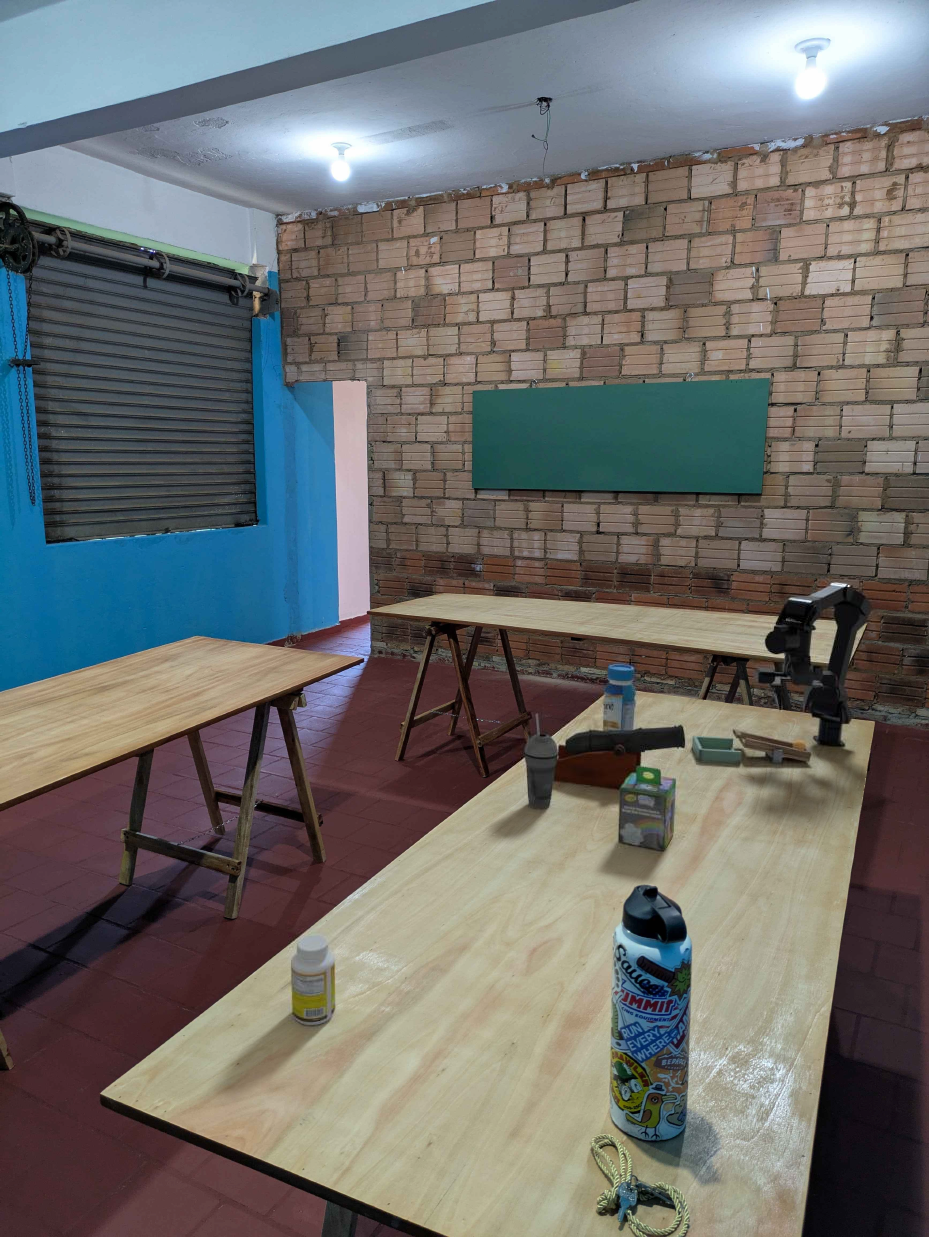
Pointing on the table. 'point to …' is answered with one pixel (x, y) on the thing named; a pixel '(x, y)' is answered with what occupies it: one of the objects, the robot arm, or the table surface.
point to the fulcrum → (776, 756)
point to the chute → (771, 745)
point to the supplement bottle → (313, 980)
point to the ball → (799, 745)
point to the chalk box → (647, 809)
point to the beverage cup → (540, 768)
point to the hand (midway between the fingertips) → (792, 710)
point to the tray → (715, 750)
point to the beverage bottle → (619, 699)
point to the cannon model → (610, 754)
